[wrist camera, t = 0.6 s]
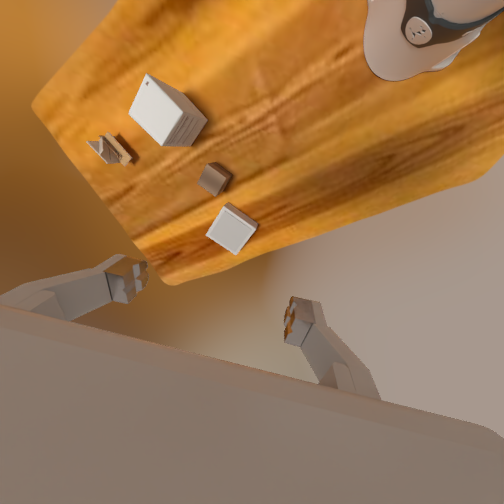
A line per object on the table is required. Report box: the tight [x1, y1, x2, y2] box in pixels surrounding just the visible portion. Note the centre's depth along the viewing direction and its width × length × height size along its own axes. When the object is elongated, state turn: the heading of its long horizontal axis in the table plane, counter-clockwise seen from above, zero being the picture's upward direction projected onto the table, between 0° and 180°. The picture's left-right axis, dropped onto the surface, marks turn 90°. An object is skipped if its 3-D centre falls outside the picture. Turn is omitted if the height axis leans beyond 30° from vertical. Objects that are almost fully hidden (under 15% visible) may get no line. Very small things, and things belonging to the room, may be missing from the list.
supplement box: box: [129, 73, 208, 146], centre depth 37 cm, size 7×7×13 cm
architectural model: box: [86, 132, 132, 166], centre depth 44 cm, size 3×7×8 cm, turn 37°
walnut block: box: [197, 162, 232, 197], centre depth 45 cm, size 5×5×6 cm
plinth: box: [206, 202, 258, 255], centre depth 51 cm, size 10×10×4 cm
